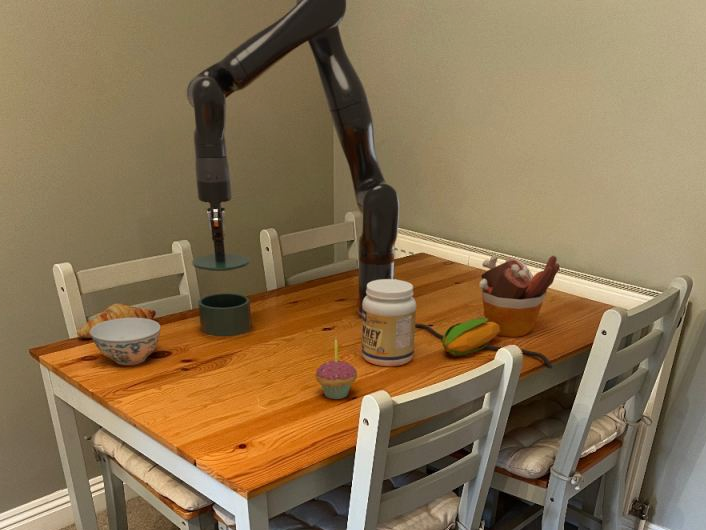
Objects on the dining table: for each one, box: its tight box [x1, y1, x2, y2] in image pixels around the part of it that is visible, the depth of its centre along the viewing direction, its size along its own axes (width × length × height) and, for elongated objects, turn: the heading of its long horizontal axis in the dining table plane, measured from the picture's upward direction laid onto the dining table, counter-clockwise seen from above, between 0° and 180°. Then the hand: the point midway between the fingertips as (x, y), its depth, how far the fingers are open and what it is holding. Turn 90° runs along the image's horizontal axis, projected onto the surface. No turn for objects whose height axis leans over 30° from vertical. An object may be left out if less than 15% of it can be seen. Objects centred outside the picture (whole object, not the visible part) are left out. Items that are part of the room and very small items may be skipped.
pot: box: [197, 292, 253, 338], centre depth 186 cm, size 12×12×8 cm
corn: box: [441, 317, 500, 357], centre depth 177 cm, size 7×8×20 cm
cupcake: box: [315, 335, 358, 400], centre depth 152 cm, size 9×8×12 cm
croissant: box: [76, 302, 157, 339], centre depth 185 cm, size 21×10×8 cm, turn 136°
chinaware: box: [90, 318, 161, 366], centre depth 167 cm, size 15×15×8 cm
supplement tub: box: [361, 279, 417, 367], centre depth 169 cm, size 12×12×17 cm
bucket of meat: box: [478, 254, 560, 338], centre depth 185 cm, size 20×16×20 cm
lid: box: [191, 247, 250, 272], centre depth 177 cm, size 13×13×6 cm
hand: (220, 255), depth 178 cm, fingers closed on lid, 2 cm apart
